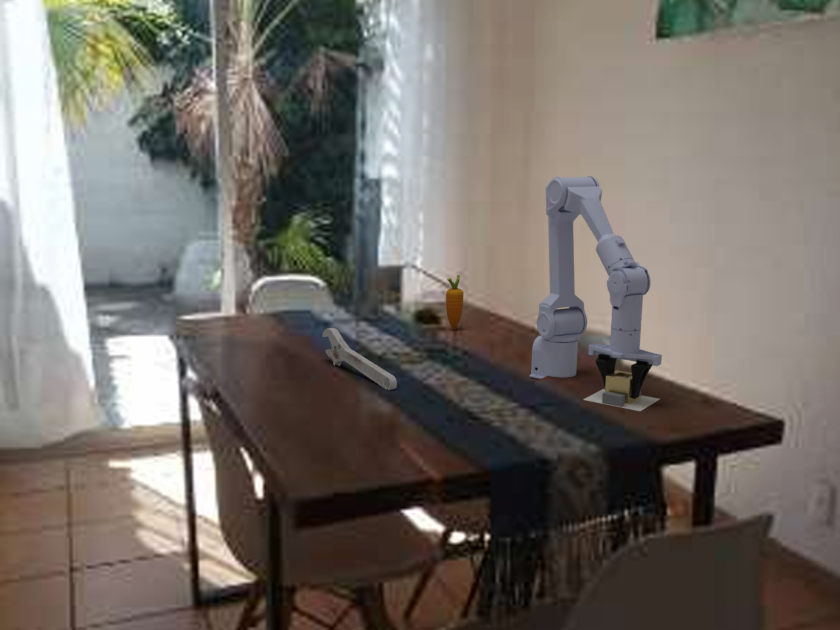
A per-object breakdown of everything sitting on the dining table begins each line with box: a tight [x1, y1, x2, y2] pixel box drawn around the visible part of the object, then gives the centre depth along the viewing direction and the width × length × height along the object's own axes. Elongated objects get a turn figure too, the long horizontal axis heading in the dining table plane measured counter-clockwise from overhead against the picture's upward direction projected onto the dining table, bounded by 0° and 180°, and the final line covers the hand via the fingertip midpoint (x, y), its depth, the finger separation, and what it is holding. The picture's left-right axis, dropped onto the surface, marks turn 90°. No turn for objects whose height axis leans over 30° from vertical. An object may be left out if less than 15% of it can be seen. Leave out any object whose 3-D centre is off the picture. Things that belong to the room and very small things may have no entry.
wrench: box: [321, 327, 398, 391], centre depth 199 cm, size 8×2×30 cm
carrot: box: [445, 274, 464, 331], centre depth 242 cm, size 5×5×15 cm
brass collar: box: [604, 369, 639, 405], centre depth 178 cm, size 5×5×5 cm
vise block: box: [583, 376, 661, 412], centre depth 178 cm, size 12×10×6 cm
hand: (621, 394), depth 178 cm, fingers closed on brass collar, 5 cm apart
